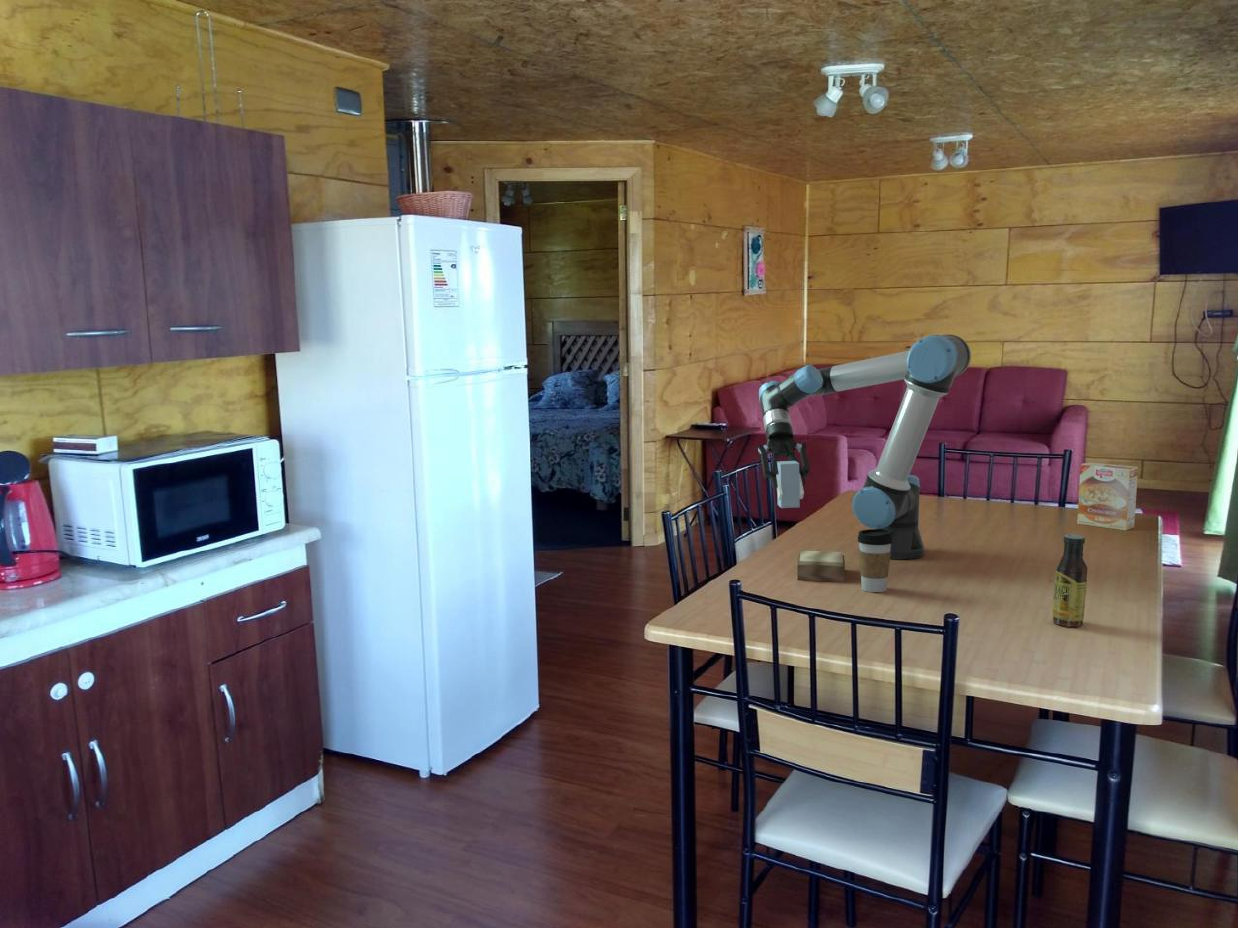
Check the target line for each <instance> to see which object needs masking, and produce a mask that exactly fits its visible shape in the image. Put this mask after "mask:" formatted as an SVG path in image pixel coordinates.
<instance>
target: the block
mask: <svg viewBox="0 0 1238 928" xmlns="http://www.w3.org/2000/svg"><path fill="white" fill-rule="evenodd" d="M799 463H800V462H799ZM799 463H798V462H796V461H789V460H784V461H783V460H782V461H779V460H778V462H777V471H776V475H778V474H779V477H780V482H781V487H782V492H783V495H782V500H779V499H778V493H777V492H776V493H777V494H776V495H777V506H778V507H780V509H789V508H790V509H791V508H800V507H801V506H800V503H801V502H800V500H801V499H800V496H799Z"/></svg>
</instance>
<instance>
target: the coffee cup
mask: <svg viewBox="0 0 1238 928" xmlns="http://www.w3.org/2000/svg"><path fill="white" fill-rule="evenodd" d="M892 540H893V538H892V531H891V530H888V529H872V528H868V529H863V530H859V531H858V536H857V542H858V544H859V548H858V557H859V569H860V577H861V578H860V580H861V581H860V583H861V590H862V591H864V592H866V591H868V592H867V593H871V592H881V593H884V591H885V592H886V591H887V586H888V578H889V577H888V576H889V570H890V569H889V568H890V562H891V559H890V555H891V550H890V547H891V543H892V542H893V541H892Z"/></svg>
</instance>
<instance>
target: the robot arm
mask: <svg viewBox="0 0 1238 928" xmlns="http://www.w3.org/2000/svg"><path fill="white" fill-rule="evenodd" d="M971 359H972V351H971V349H970V347H969V344H968V343H967V341H965V339H963V338H962V337H960V336H958V335H956V334H950V333H949V334H930V335H927V336H925V337H923V338H920V339H919V340H917V341H916V342H915V343H913V344H912V346H911V347H910V349H909V350H906V351H900V352H896V353H891V354H887V355H886V354H885V355H882V356H881V355H880V356H877V357H871V358H866V359H861V360H857V361H851V362H848V363H843V364H839V365H838V364H837V365H833V366H828V367H824V368H823V367H822V368H818V369H817V368H816V366H814V365H812V364H807V365H805V366H803V367H801V368H798V370H796V371H795V372H794V373H792V374H791V375H790V376H788V377H787V378H786V379H784V380H783V381H781V382H780V381H776V380H770V381H769V382H765V383H763V384H762V385H761V386H760V387H759V390H758V397H759V399H758V400H759V401H758V402H759V404H760V409H761V413H762V419H763V427H764V430H765V437H766V444H764V445H763V444H758V448H757V449H758V450H757V453H758V454H759V456H760V459H761V460H760V461H761V467H762V474H763V477H764V478H765V479H770V482H771V484H772V488H773V489H776V493H778V497H777V500H778V499H779V500H782V495H783V492H782V487H781V482H780V477H779V474H778V475H777V462H779V458H782V457H783V458H787V461H796V462H798V463H799V496H800V500H802V499H803V498H804V495H805V491H804V488H805V487H806V478H805V477H809V476H810V471H811V469H810V464H809V459H808V456H807V450H806V448H807V443H806V442H802V443H801V444H800V443H798V442H797V440H796V439H795V436H794V431H793V427H792V421H791V416H790V411H789V410H790V408H792V407H793V406H795V405H796V404H798V403H799V402H801V401H803V400H804V399H806V398H810V397H811V398H812V397H817V396H825V395H828V394H833V393H837V392H843V391H847V390H853V389H859V388H866V387H869V386H875V385H880V384H887V383H891V382H898V381H902V380H904V382H905V384H906V390H905V392H904V395H903V397H902V400H901V402H900V406H899V408H898V411H897V414H896V416H895V419H894V422H893V424H892V427H891V429H890V431H889V435H888V437H887V439H886V443H885V445H884V447H883V450H882V453H881V455H880V458H879V460H878V463H877V466H876V467H875V468H874V469H873V470H870V471H869V472H868V473H867V475H866V479H865V481H864V484H863V486H862V488H861V489H859V490H858V491H857V492H855V495H854V497H853V499H852V504H851V505H852V506H851V507H852V511H853V512H852V513H853V514H854V516H855V518H856V520H857V521H858V522H859V523H860V524H861V525H863V526H865V527H866V528H868V529H888V530H891V531H892V538H893V540H892V541H893V542H892V543H891V547H890V550H891V555H890V560H914V559H918V558H922V557H923V556H924V555H925V545H924V541H923V539H922V534H921V531H920V529H919V523H920V522H919V521H920V520H919V517H920V490H921V485H920V478H919V477H918V476H917V475H913V474H911V472H912V470H913V467H914V464H915V461H916V459H917V456H918V453H919V452H920V448H921V447H922V443H923V441H924V439H925V436H926V434H927V431H928V428H929V426H930V423H931V421H932V419H933V416H934V413H935V411H936V408H937V406H938V403H939V400H940V398H942V397H943V396H946V395H948V394H949V392H950V389H951V387H952V384H953V382H954V379H955V378H956V377H958V376H960V375H962V374H963V373H964V372H965V371H966V370H967V369H968V367H969V366H970V363H971ZM796 449H797V451H798V453H799V457H800V461H801V463H800V462H799V460H798V458H797V456H796V454H795V450H796ZM767 451H768V452H769V453H770V454H772V455H773V456H772V457H773V458H772V465H771V466H772V467H771V471H770V466H769V461H768V455H767V454H768V453H767ZM803 500H804V499H803Z"/></svg>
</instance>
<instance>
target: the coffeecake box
mask: <svg viewBox="0 0 1238 928" xmlns="http://www.w3.org/2000/svg"><path fill="white" fill-rule="evenodd" d="M1138 471H1139V467H1138V466H1133V465H1123V464H1122V465H1121V464H1111V463H1102V462H1091V461H1088V462H1083V463H1081V464H1080V469H1079V483H1078V484H1079V487H1078V503H1077V521H1076V522H1077V525H1083V526H1090V527H1097V528H1098V527H1099V528H1104V529H1112V530H1119V531H1129V530H1130V529H1133V528H1135V518H1136V504H1137V502H1136V501H1137V492H1138V491H1137V488H1138V487H1137V486H1138V474H1139V472H1138Z"/></svg>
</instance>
